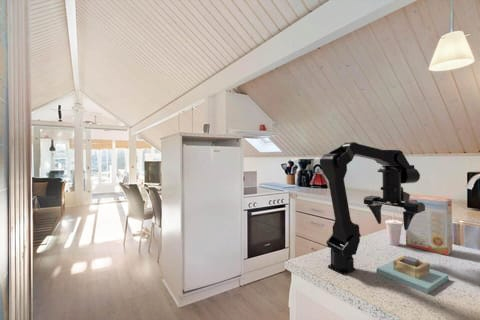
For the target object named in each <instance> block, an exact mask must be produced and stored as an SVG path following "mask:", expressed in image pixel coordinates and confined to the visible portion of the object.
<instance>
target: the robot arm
mask: <svg viewBox="0 0 480 320" xmlns="http://www.w3.org/2000/svg"><path fill="white" fill-rule="evenodd" d="M355 156H356V157H361V158H365V159H369V160H373V161H375V162H376V163H377V164H379V165H381V167H379V169H378V170H377V172H378V173H382V186H381V187H380V191H382V197H381V196H378V195H368V196H364V197H363V204H364V205H366V207H367V208H369V210H370V211H371V213H372V214H373V216H374V218H375V220H376V222H377V224H379V225H381V224H382V211H381V210H382V207H383V205H384V206H391V207H396V208H403V209H404V211H402V216H403V217H402V218H403V228H404V231H406V230H407V229H408V227H409V225H410V223H411V220H412V218H413V217H414V215H415V214H417V213H420V212H422V211H425V205H424V204H423V203H422V202H415V201H409V198H410V195H411V194H410V193H408V192H406V191H404V187H403V186H402V184H414V183H417V182H419V181H420V178H421V174H420V172H419V170H417V168H415V165H414V164H410V162H409V161H408V160H407V158H406V156H405V154H404V152H403V151H402V150H400V149H381V148H376V147H373V146H368V145H364V144H360V143H357V142H356V141H351V142H349V141H348V142H344V143H343V144H341V145H340V146H339V147H337V148H335V149H333V150H331V151H330V152H328V153H326V154H323V155H322V156H321V158H319V166H320V169H321V172H322V174H323V175H324V176H325V178H326V179H327V181H328V185H329V187H328V188H329V192H330V198H331V203H332V209H333V214H334V215H333V216H334V223H333V225H332V233H331V235H330V236H329V237H328V239H327V240H326V246H327V247H328V248H329V249H330V264H328V265H327V268H329V269H331V270H333V271H335V272H337V273H340V274H342V275H347V274H350V273H351V272H353V271H356V267H355V266H354V259H355V258H354V257H353V256H354V255H355V256H356V255H357V251H358V248H359V244H360V242H361V237H362V235H361V232H360V226H359V224H358V223H354V222H353V221H352V219H351V212H350V207H349V202H348V197H347V196H348V194H347V190H346V184H345V183H346V182H345V177H346V174H347V172H348V165H349V163H351V161H352V162H353V159H354V157H355ZM405 210H406V211H405Z"/></svg>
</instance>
